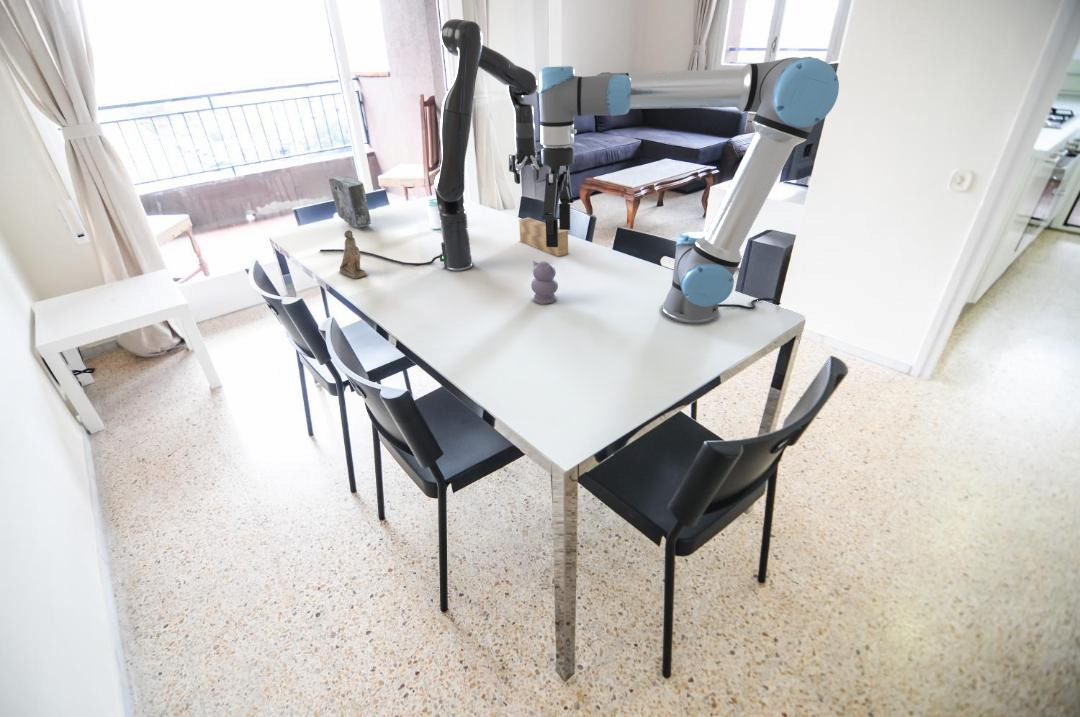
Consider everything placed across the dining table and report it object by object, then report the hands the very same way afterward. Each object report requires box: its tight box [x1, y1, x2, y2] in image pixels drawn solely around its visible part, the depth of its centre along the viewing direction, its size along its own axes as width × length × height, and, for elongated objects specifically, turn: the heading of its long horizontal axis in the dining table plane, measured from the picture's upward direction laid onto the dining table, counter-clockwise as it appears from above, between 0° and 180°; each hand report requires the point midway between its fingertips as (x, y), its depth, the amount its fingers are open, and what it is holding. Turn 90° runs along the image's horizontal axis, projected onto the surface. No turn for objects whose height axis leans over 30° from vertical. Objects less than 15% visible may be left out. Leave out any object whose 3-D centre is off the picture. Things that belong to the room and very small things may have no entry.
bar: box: [518, 216, 569, 257], centre depth 194 cm, size 25×5×9 cm, turn 37°
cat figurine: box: [530, 260, 559, 305], centre depth 151 cm, size 9×8×12 cm
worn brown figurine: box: [339, 229, 367, 280], centre depth 174 cm, size 12×6×18 cm, turn 43°
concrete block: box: [328, 175, 372, 229], centre depth 226 cm, size 27×9×20 cm, turn 36°
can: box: [426, 198, 442, 230], centre depth 220 cm, size 7×7×12 cm
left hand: (526, 181), depth 190 cm, fingers open, 8 cm apart
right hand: (558, 237), depth 123 cm, fingers open, 13 cm apart
